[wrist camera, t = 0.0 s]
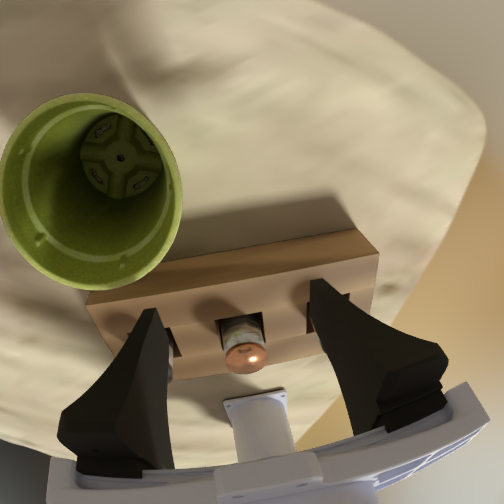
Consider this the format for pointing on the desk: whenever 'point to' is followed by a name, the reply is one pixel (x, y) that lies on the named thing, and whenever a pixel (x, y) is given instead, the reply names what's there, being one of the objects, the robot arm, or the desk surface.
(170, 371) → the plug
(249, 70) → the desk surface
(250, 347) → the plug mid
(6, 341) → the desk surface
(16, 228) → the plant pot
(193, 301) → the socket block
